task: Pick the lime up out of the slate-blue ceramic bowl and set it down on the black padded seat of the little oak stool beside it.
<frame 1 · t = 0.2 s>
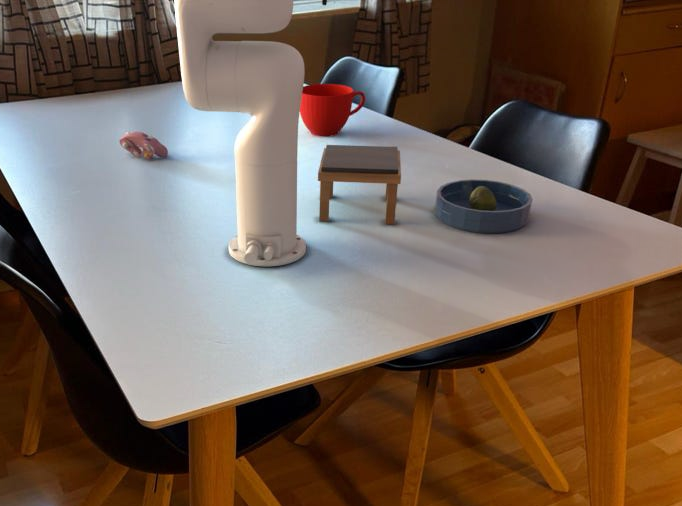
hand: (299, 4, 138), 31 cm above the table, tool pointing down, fingers open, 9 cm apart
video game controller: (144, 158, 160), on the table
ceramic cup: (331, 132, 175), on the table
bowl: (480, 216, 129), on the table
stool: (357, 209, 132), on the table
lime: (481, 214, 129), resting on bowl
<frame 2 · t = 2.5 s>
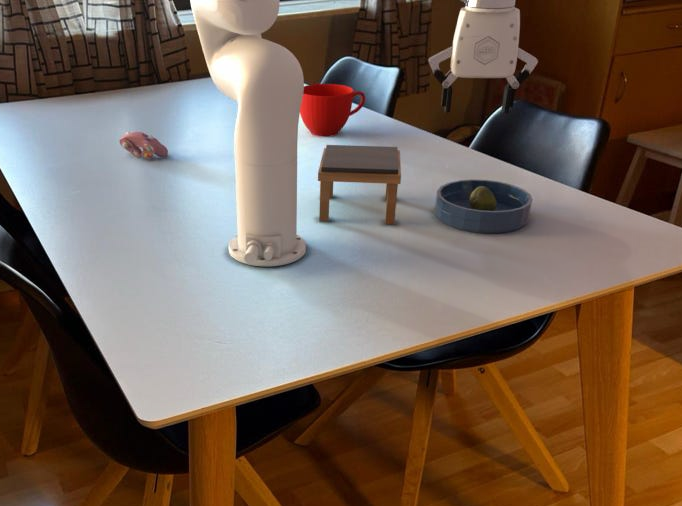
hand: (475, 111, 122), 18 cm above the table, tool pointing down, fingers open, 9 cm apart
nothing on the table moved.
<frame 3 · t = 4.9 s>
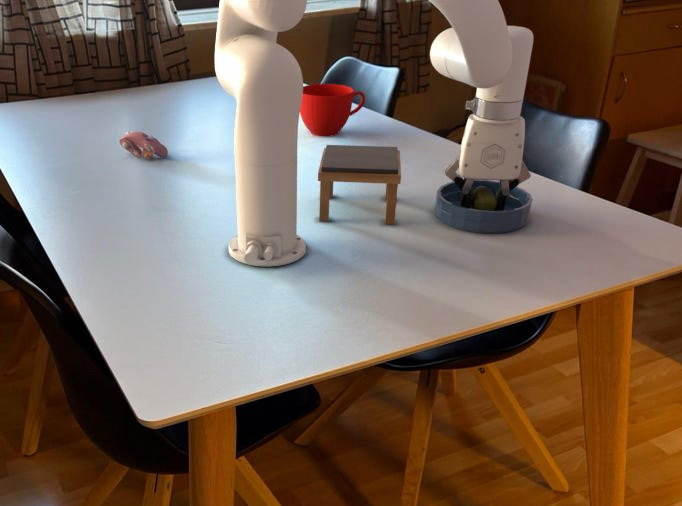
hand: (481, 212, 129), 1 cm above the table, tool pointing down, fingers closed on lime, 4 cm apart
lime: (481, 214, 129), resting on bowl, touching gripper
everything else where it was.
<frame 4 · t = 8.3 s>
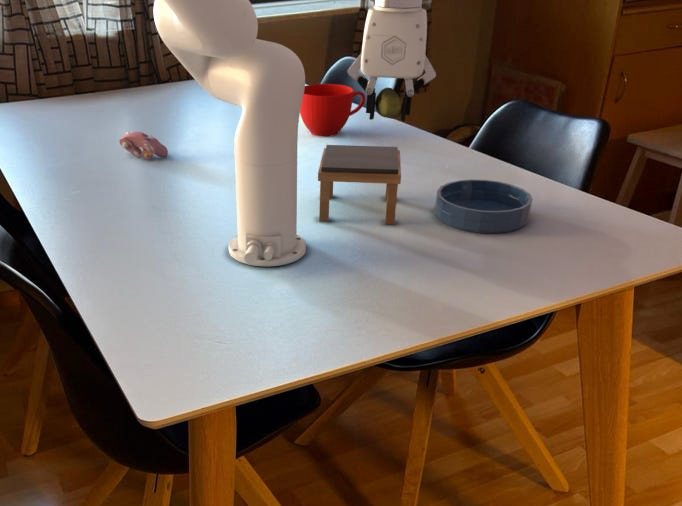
hand: (387, 117, 122), 17 cm above the table, tool pointing down, fingers closed on lime, 4 cm apart
lime: (387, 119, 122), point 16 cm above the table, touching gripper
everything else where it was.
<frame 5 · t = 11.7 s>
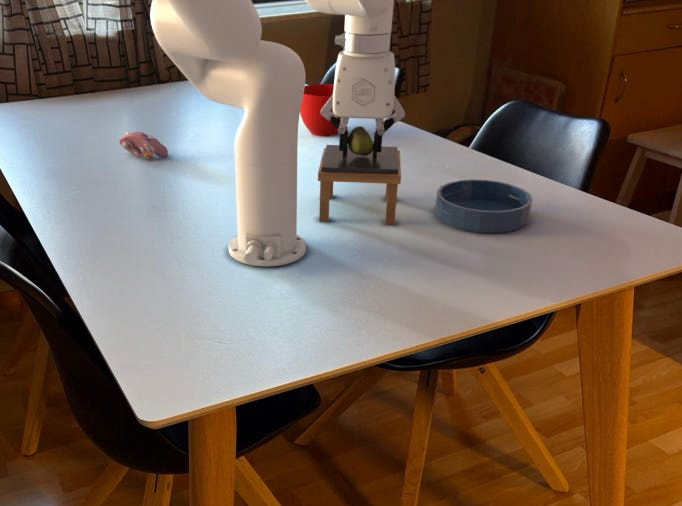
hand: (359, 154, 127), 10 cm above the table, tool pointing down, fingers closed on lime, 4 cm apart
lime: (359, 156, 127), point 10 cm above the table, touching gripper
everything else where it was.
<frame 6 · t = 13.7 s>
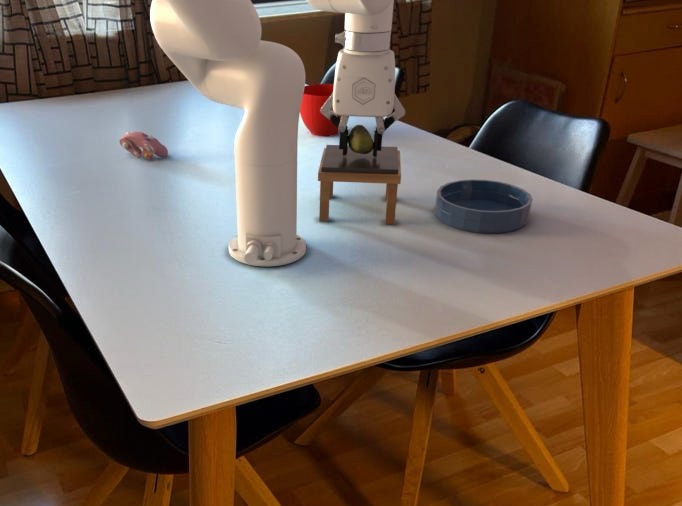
hand: (359, 152, 126), 11 cm above the table, tool pointing down, fingers closed on lime, 4 cm apart
lime: (360, 155, 127), point 10 cm above the table, touching gripper
everything else where it was.
when the fingers open (11 cm above the table, at t = 15.7 s): lime stays where it is, resting on stool.
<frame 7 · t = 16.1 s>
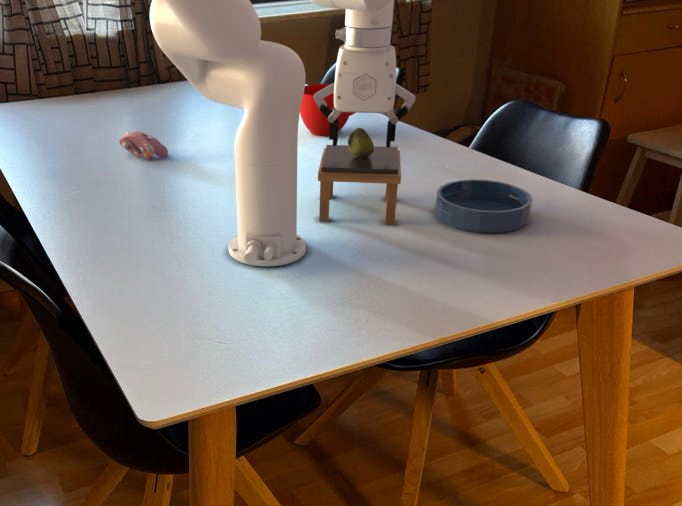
hand: (361, 144, 126), 12 cm above the table, tool pointing down, fingers open, 8 cm apart
lime: (360, 157, 127), point 10 cm above the table, touching stool
everything else where it was.
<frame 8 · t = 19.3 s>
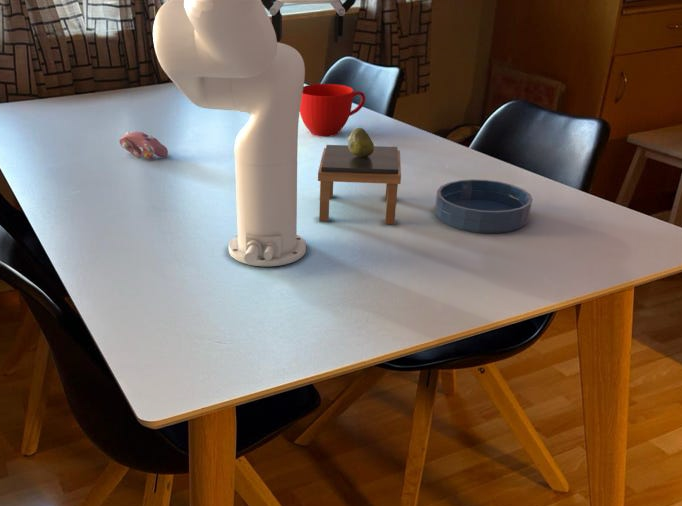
hand: (307, 40, 120), 28 cm above the table, tool pointing down, fingers open, 9 cm apart
nothing on the table moved.
at the end: lime inside the target area on the stool (0.1 cm from its centre), point 9.6 cm above the stool's base; lime touching stool; the gripper is holding nothing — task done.
